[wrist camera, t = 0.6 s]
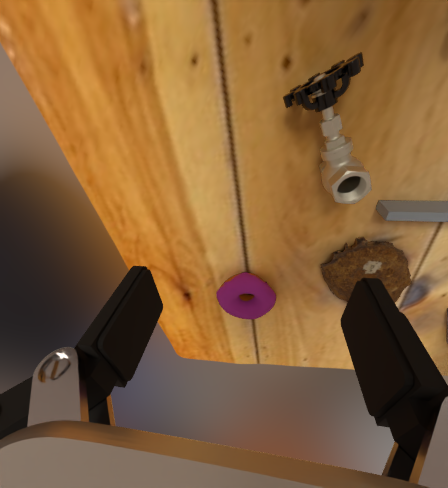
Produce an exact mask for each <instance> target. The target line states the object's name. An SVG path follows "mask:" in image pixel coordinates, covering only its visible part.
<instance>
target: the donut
mask: <svg viewBox="0 0 448 488" xmlns="http://www.w3.org/2000/svg"><path fill="white" fill-rule="evenodd" d="M245 293H248V294H253V295H247V294H245ZM217 299H218V301H219V304H220V305H221V307H222V308H223V309H224V310H225V311H226V312H227V313H229V314H231V315H233V316H235V317H238V318H242V319H256V318H259V317H261V316H263V315H265V314H266V313H267V312H269V311H270V310H271V309H272V307H273V306H274V304H275V301H276V295H275V293H274V291H273V290H272V289H271V288H270V287H269V285H268V284H267V282H264V281H263V280H262V279H261V278H259V277H258V276H257V275H255V274H252V273H247V272H244V273H241V274H237V275H235V276H233V277H231V278H229V279H228V280H227V281H225V282H224V284H223V285H222V286H221V287H220V288H219V290H218V291H217Z"/></svg>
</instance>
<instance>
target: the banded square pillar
mask: <svg viewBox="0 0 448 488" xmlns="http://www.w3.org/2000/svg"><path fill="white" fill-rule="evenodd" d="M447 343H448V310H447Z"/></svg>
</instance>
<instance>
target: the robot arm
mask: <svg viewBox="0 0 448 488" xmlns="http://www.w3.org/2000/svg"><path fill="white" fill-rule="evenodd" d="M162 310H163V303H162V301H161V298H160V295H159V293H158V290H157V287H156V285H155V282H154V279H153V277H152V274H151V271H150V270H148V269H147V267H146V266H133V267H132V268H131V269H130V270H129V272H128V273H127V275H126V276H125V277H124V279H123V280H122V282H121V283H120V284H119V286H118V287H117V289H116V290H115V292H114V293H113V294H112V296H111V297H110V299H109V300H108V301H107V303H106V304H105V305H104V307H103V308H102V310H101V311H100V313H99V314H98V315H97V317H96V318H95V319H94V321H93V322H92V324H91V325H90V326H89V328H88V329H87V331H86V332H85V334H84V335H83V336H82V338H81V339H80V341H79V342H78V344H77V345H76V347H75V348H74V349H73V348H70V347H66V348H61V349H58V350H56V351H54V352H52V353H51V354H49V355H48V356H47V357H46V358H44V359H43V360H42V361H41V363H40V364H39V365H38V366H37V368H36V370H35V372H34V375H33V376H32V377H31V378H29V379H27V380H25V381H23V382H22V383H20V384H18V385H16V386H15V387H13V388H11V389H9V390H7V391H6V392H4V393H2V394H0V488H448V385H447V384H446V382H445V380H444V379H443V377H442V375H441V374H440V372H439V370H438V369H437V367H436V365H435V364H434V362H433V360H432V359H431V357H430V355H429V354H428V352H427V350H426V349H425V347H424V345H423V344H422V342H421V341H420V339H419V337H418V336H417V334H416V332H415V331H414V329H413V327H412V326H411V324H410V322H409V321H408V319H407V318H406V316H405V315H404V314H403V313H401V312H399V310H398V308H397V306H396V305H395V303H394V301H393V300H392V298H391V296H390V295H389V293H388V291H387V289H386V288H385V286H384V284H383V283H382V281H381V280H380V279H379V278H362V279H361V280H360V281H357V282H356V284H355V286H354V289H353V291H352V293H351V296H350V298H349V301H348V303H347V306H346V308H345V310H344V313H343V315H342V318H341V327H342V330H343V333H344V337H345V340H346V343H347V346H348V349H349V352H350V356H351V359H352V362H353V365H354V368H355V371H356V375H357V378H358V381H359V384H360V387H361V391H362V393H363V397H364V400H365V403H366V406H367V409H368V412H369V414H370V415H371V416H374V418H375V420H376V424H377V426H384V427H390V430H391V433H392V436H393V439H394V441H395V442H394V445H393V448H392V450H391V453H390V455H389V458H388V460H387V463H386V465H385V468H384V470H383V473H382V475H376V474H372V473H367V472H362V471H357V470H352V469H347V468H342V467H337V466H332V465H326V464H321V463H316V462H310V461H305V460H299V459H294V458H289V457H284V456H278V455H272V454H268V453H262V452H256V451H251V450H246V449H240V448H234V447H229V446H224V445H218V444H213V443H207V442H202V441H196V440H191V439H186V438H180V437H174V436H169V435H163V434H157V433H151V432H146V431H141V430H135V429H129V428H124V427H117V426H115V420H114V414H113V408H112V401H111V395H110V394H111V392H112V389H113V388H114V386H118V387H125V386H126V384H127V382H128V381H130V380H131V379H132V377H133V375H134V373H135V371H136V368H137V366H138V364H139V362H140V360H141V357H142V355H143V353H144V351H145V348H146V346H147V344H148V342H149V339H150V337H151V335H152V333H153V330H154V328H155V326H156V323H157V321H158V319H159V317H160V315H161V312H162Z"/></svg>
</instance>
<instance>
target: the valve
mask: <svg viewBox="0 0 448 488" xmlns="http://www.w3.org/2000/svg"><path fill="white" fill-rule="evenodd" d="M363 66H364V64H363V56H362V52H360V53H358V54H356V55H354V56H352V57H351V58H349V59H348V60H347V61H346V62H345V60H342V61H340V62H338V63H336V64H334V65H333V66H332V67H331V69H329V70H327V71H325V72H324V73H322V74H320V73H318V74H316V75H314V76H312V77H311V78H309V79H308V82H306V83H305V84H303V85H298V86H296V87H295V88H293V89H291V90H290V93H288V94H286V95H285V96H284V97H283V100H284V103H285V106H286V108H288V107H290V106H292V105H293V103H292V101H296V105H297V106H298V105H301V104H302V106H303V108H304V109H306V110H314V109H315V112H320V111H321V112H322V116H323V119H322V120H321V121H320V122H319V123H320V127H321V131H322V135H323V136H324V137H325V136H326V137H327V139H326V140H325V141H324V143H325V145H324V146H323V147H322V148H321V149H320V154H321V158H322V160H323V161H322V163H321V164H320V165H319V168H320V171H321V175H322V176H321V180H322V184H323V187H324V188H325V190H326V191H327V192H329V193H330V194H332V197H333V199H334V200H335V202H338V203H345V204H355V203H357V202H358V201H360V200H361V199H362V198H363V197H365V196H366V195H367V194H368V193H369V192H370V191H371V190H372V188H371V180H370V175H369V172H368V171H367V170H366V169H365V168H364V166H363V164H362V162H361V161H360V160H358V159H357V158H355V157H353V156H351V153H350V152H351V151H352V150H353V142H352V138H351V137H344V135H343V134H340V133H339V130H341V129H342V123H341V118H340V115H339V114H338V113H336V114H334V110H333V105H334V104H336V103H337V102H338V97H340V96H341V95H343V94H344V92H345V91H346V90H347V89H348V87H349V85H350V79H351V78H350V77H353V76H354V75H356V74H358V73H359V72H360V71H361V67H363ZM340 78H342V87H341V88H340V89H338V90H336V88H335V87H336V86H337V84H336V80H338V79H340ZM312 93H313V94H312ZM310 94H312V95H311V97H312V101H313V103H310V101H309V97H308V95H310Z"/></svg>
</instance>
